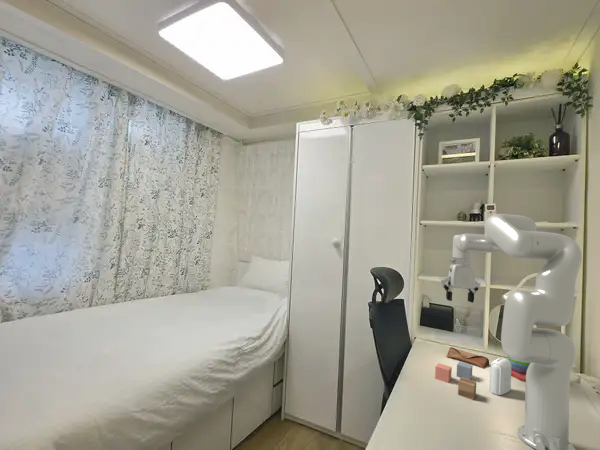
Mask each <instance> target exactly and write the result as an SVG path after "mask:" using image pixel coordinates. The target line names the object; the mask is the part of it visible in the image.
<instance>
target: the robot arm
mask: <svg viewBox="0 0 600 450" xmlns="http://www.w3.org/2000/svg"><path fill="white" fill-rule="evenodd" d="M483 229H484V234H480V233H479V234H478V233H462V234H461V233H460V234H455V235H453V237H452V256H451V258H449V260H448V261H449V262H450V263H451V264H450V265H449V270H448V275H447V277H446V278H444V279H442V280H440V283H441V285H442V288H443V289H444V290H445V291H446V293H445V298H446V300H447V301H450V302H452V301H453V290H454V289H464V290H467V291H468V292H467V302H470V303H471V304H473V303H474V301H475V294H476V292H477V291H478V290H479V288H480V287H481V283H480V282H478V281H476V277H475V270H474V266H472V258H473V256H472V255H473V254H472V253H473V252H475V253H485V254H486V253H488V254H489V253H495V252H498V251H499V252H500V251H503V252H504V253H505V254H507V256H510V257H512V258H516V259H525V260H528V259H529V260H538V261H539V260H540V261H546V262H545V264H543V265H542V266H541V267H540V269H539V270H538V272H537V274H536V277H535V286H534V289H533V290H529V289H528V290H527V289H519V290H514V291H512V292H511V293H509V294H508V296H507V297H506V299H505V302H504V307H503V315H502V323H501V333H500V342H501V343H500V345H501V348H502V351H503V352H504V354H505V355H506V356H507V358H508V357H509V358H511V359H512V360H515V361H519V362H528V363H530V365H529V367H528V369H527V372H526V382H525V388H524V389H525V395H524V396H525V397H524V398H525V399H524V400H525V401H524V425H520V426H519V427H518V428H517V435H518V437H520V439H521V440H522V441H523V442H524V443H525V444H527V445H528V446H530V447H531V448H533V449H535V450H576V447H575V446H574V445H573V444H572V443H571V442H570V440H569V433H570V432H569V430H570V429H569V428H570V427H569V426H570V390H571V389H570V388H571V386H570V384H571V374H572V369H573V365H574V362H575V358H576V347H575V344H574V343H573V341H572V339H571V338H570V337H569V336H568V335H566V334H565V333H563V332H562V331H558V330H556V329H552V328H545V327H546V326H547V327H564V326H566V325H568V324H569V323H570V322H571V320H572V317H573V309H574V303H575V293H576V292H575V291H576V282H577V278H578V274H579V271H580V268H581V265H582V257H583V255H582V250H581V247H580V246H579V244H578V243H577V242H576V240H575V239H573V238H572V237H570V236H567V235H565V234H562V233H557V232H548V231H537V224H536V222H535V221H534V220H533V219H532V218H531V217H528V216H525V215H520V214H508V213H495V214H492V215H490V216H489V217H488V218H486V221H485V222H484V228H483ZM534 326H545V327H544V328H543V327H542V328H540V327H534Z"/></svg>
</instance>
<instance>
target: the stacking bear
mask: <svg viewBox="0 0 600 450" xmlns="http://www.w3.org/2000/svg"><path fill="white" fill-rule="evenodd" d="M507 360H509V361H510V363H511V377H514V378H516V379H517V380H519V381H522V382H523V383H526V372H527V369H528V367H529V365H530V363H528V362H519V361H515V360H512V359H511V358H509V357H508V356H507Z"/></svg>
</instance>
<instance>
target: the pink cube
mask: <svg viewBox="0 0 600 450" xmlns="http://www.w3.org/2000/svg"><path fill="white" fill-rule="evenodd" d="M434 368H435V373H434V379H435V380H438V381H441V382H444V383H450V382H451V380H452V368H453V367H452V366H451V365H447V364H446V365H445V364H444V363H437V365H435V367H434Z"/></svg>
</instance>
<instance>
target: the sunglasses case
mask: <svg viewBox="0 0 600 450" xmlns="http://www.w3.org/2000/svg"><path fill="white" fill-rule="evenodd" d="M445 358H448V359H452V360H455V361H458V362H463V363H466V364H470V365H473V366H475V367H478V368H481V369H483V370H485V369H486V368H487V367H489V366H490V359H489V358H488V357H486V356H483V355H478V354H474V353H471V352H468V351H464V350H460V349H457V348H455V347H449V349H448V351H447V354H446V356H445Z"/></svg>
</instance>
